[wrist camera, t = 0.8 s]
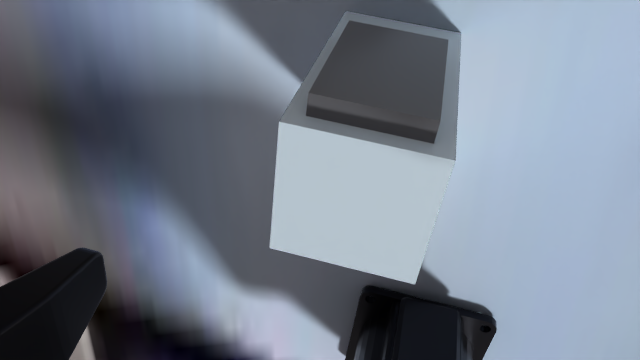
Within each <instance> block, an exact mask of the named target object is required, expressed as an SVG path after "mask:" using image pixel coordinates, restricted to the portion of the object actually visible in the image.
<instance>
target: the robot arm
mask: <svg viewBox="0 0 640 360" xmlns="http://www.w3.org/2000/svg"><path fill="white" fill-rule="evenodd" d="M106 287H107V277H106V271H105V265H104V259H103V255H102V254H101V253H100V252H98V251H94V250H90V249H87V248H78V249H75V250H73V251H71V252H69V253H67V254H65V255H63V256H61V257H59V258H57V259H55V260H53V261H51V262H49V263H47V264H45V265H43V266H41V267H39V268H37V269H35V270H33V271H31V272H29V273H27V274H25V275H23V276H21V277H19V278H17V279H15V280H13V281H11V282H9V283H7V284H5V285H3V286H1V287H0V360H69V358H70V356H71V355H72V353H73V351H74V349H75V347H76V345H77V344H78V342H79V340H80V338H81V336H82V334H83V332H84V331H85V329H86V327H87V325H88V323H89V321H90V319H91V317H92V316H93V314H94V312H95V310H96V308H97V306H98V304H99V302H100V301H101V299H102V297H103V295H104V293H105V290H106ZM370 296H373V297H370ZM483 325H486V326H483ZM495 333H496V321H495V319H494V318H493V317H490V316H488V315H484V314H480V313H476V312H472V311H468V310H464V309H460V308H456V307H452V306H448V305H445V304H441V303H437V302H433V301H429V300H425V299H421V298H417V297H413V296H409V295H405V294H401V293H397V292H393V291H390V290H386V289H382V288H378V287H374V286H366V287H364V288H363V289H362V291H361V295H360V300H359V304H358V308H357V312H356V316H355V321H354V325H353V329H352V333H351V337H350V342H349V346H348V350H347V354H346V358H345V360H482V359H483V357H484V355H485V353H486V351H487V349H488V347H489V345H490V343H491V341H492V339H493V337H494V335H495Z"/></svg>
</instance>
